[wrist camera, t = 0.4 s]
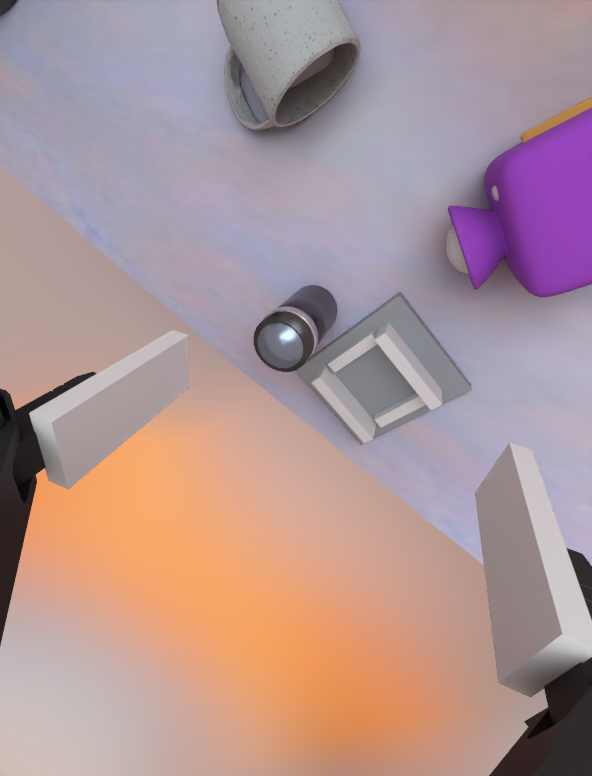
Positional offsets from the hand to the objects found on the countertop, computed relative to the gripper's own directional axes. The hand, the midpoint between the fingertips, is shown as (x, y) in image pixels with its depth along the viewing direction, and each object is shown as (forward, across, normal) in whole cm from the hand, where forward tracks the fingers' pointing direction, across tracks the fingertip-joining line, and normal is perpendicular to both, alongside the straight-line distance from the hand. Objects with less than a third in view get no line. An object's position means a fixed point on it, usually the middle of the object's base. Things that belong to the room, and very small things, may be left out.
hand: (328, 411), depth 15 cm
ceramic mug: (+24, -13, +14) cm, 31 cm away
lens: (+24, -7, -5) cm, 26 cm away
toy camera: (+24, +9, +8) cm, 27 cm away
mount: (+24, +2, -10) cm, 26 cm away
